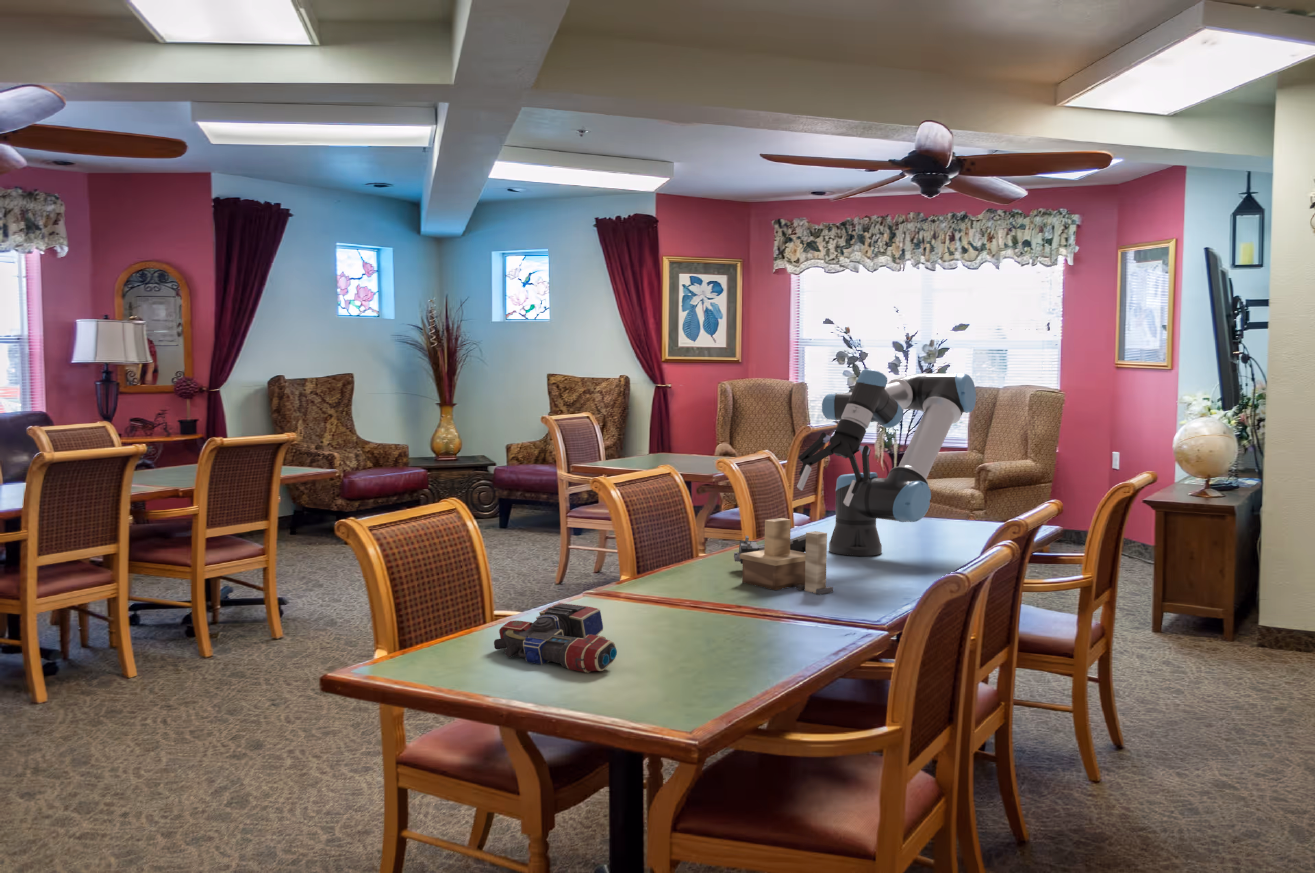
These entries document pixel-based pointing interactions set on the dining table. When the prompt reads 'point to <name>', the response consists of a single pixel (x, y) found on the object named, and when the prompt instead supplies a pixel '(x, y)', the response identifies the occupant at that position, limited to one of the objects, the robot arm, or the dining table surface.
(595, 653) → the multicoloured piece
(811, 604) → the dining table surface
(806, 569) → the tan block
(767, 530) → the lid
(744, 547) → the toy
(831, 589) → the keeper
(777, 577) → the open wooden box
